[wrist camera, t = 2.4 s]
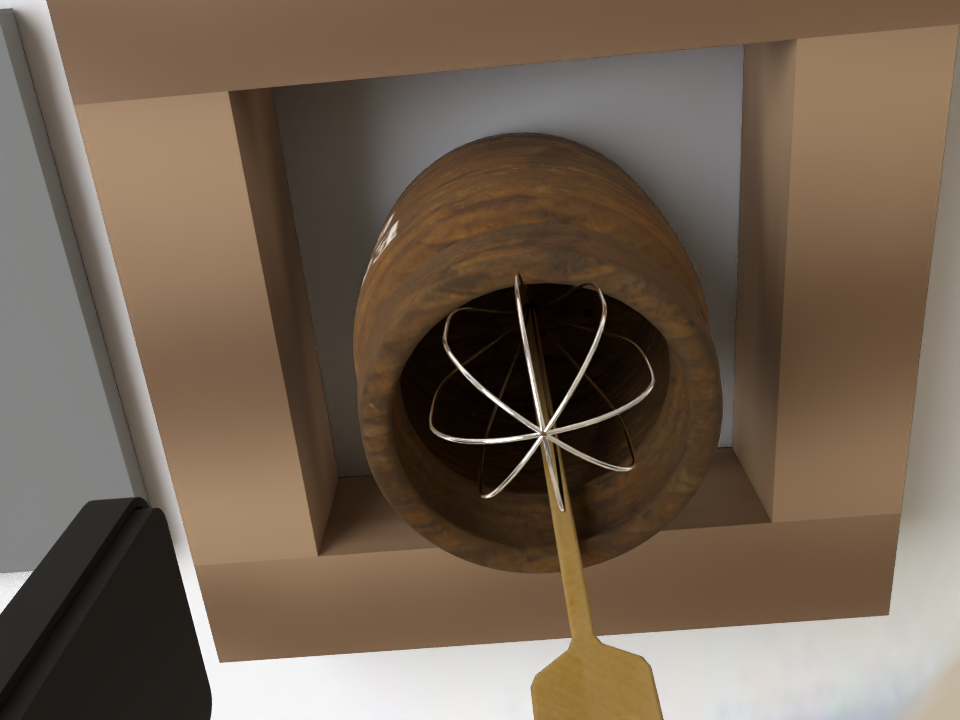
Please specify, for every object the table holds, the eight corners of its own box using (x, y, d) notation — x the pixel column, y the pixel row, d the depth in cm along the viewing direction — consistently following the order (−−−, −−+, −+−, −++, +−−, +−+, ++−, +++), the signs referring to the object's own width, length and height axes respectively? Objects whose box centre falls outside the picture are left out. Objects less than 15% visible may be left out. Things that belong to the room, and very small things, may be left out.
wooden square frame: (104, -62, 16) (28, -68, 13) (893, -139, 16) (981, -161, 13) (252, 574, 22) (219, 662, 19) (835, 531, 21) (888, 615, 19)
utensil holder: (638, 90, 17) (919, 312, 6) (681, 380, 20) (937, 901, 9) (342, 159, 18) (125, 475, 7) (420, 432, 20) (355, 988, 9)
